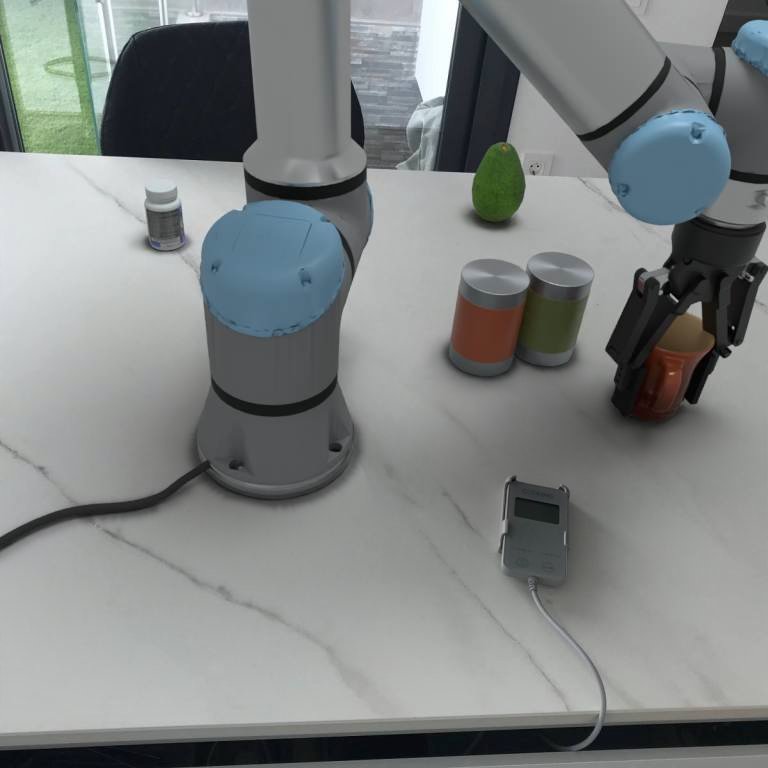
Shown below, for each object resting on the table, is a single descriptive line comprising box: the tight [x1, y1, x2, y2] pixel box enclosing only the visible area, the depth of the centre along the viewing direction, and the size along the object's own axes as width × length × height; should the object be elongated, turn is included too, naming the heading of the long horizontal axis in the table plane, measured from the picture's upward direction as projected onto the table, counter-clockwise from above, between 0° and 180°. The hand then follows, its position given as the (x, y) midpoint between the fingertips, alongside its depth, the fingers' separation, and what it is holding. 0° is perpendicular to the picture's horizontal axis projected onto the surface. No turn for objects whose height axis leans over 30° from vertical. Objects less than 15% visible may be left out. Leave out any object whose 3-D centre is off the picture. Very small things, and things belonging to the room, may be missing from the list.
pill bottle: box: [143, 178, 186, 251], centre depth 103 cm, size 5×5×8 cm
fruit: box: [471, 141, 527, 223], centre depth 114 cm, size 8×8×12 cm
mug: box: [612, 310, 715, 422], centre depth 82 cm, size 12×9×10 cm
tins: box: [448, 251, 595, 377], centre depth 88 cm, size 16×8×11 cm, turn 108°
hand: (653, 402), depth 84 cm, fingers closed on mug, 8 cm apart
